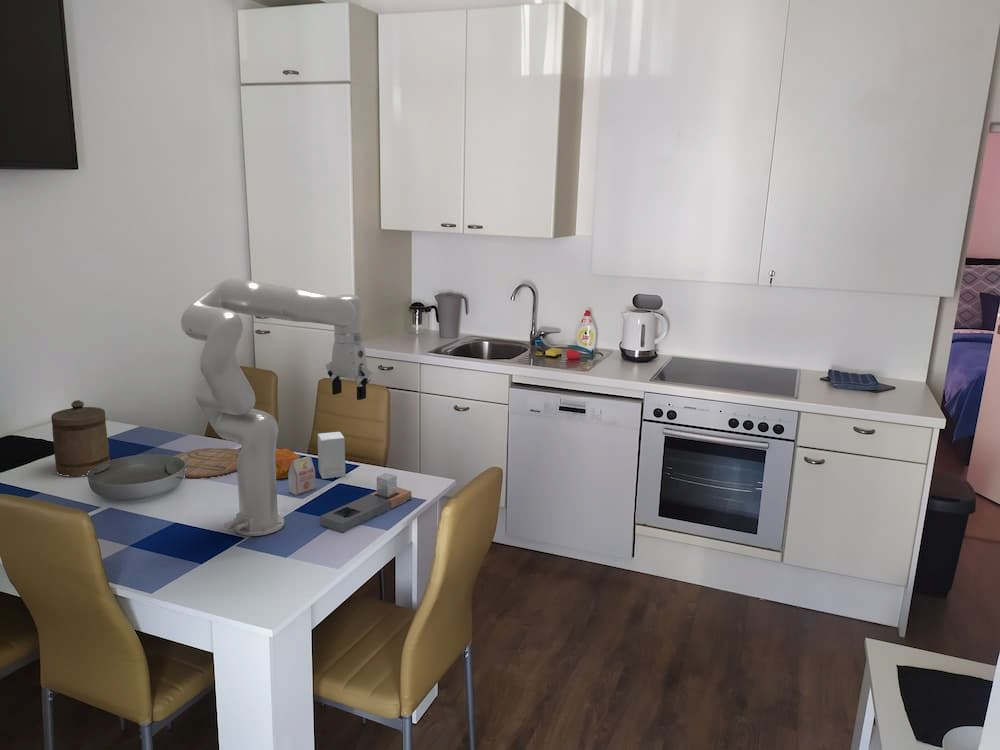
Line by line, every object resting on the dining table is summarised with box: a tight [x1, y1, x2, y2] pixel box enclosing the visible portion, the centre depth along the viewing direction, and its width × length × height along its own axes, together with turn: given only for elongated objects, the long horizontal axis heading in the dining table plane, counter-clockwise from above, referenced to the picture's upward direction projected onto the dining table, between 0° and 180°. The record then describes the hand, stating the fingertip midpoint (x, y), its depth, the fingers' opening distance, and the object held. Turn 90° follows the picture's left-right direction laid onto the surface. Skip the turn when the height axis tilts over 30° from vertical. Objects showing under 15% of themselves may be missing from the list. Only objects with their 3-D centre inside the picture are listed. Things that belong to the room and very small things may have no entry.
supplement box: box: [317, 431, 346, 480], centre depth 240 cm, size 7×7×13 cm
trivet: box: [172, 447, 241, 480], centre depth 246 cm, size 25×25×2 cm
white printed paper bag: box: [287, 455, 316, 496], centre depth 226 cm, size 4×7×10 cm, turn 141°
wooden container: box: [50, 399, 111, 477], centre depth 237 cm, size 15×15×22 cm
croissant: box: [275, 448, 301, 480], centre depth 241 cm, size 14×16×8 cm
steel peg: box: [376, 472, 398, 499], centre depth 219 cm, size 4×4×8 cm
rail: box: [319, 486, 412, 533], centre depth 213 cm, size 28×8×2 cm, turn 147°
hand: (349, 396), depth 224 cm, fingers open, 9 cm apart
